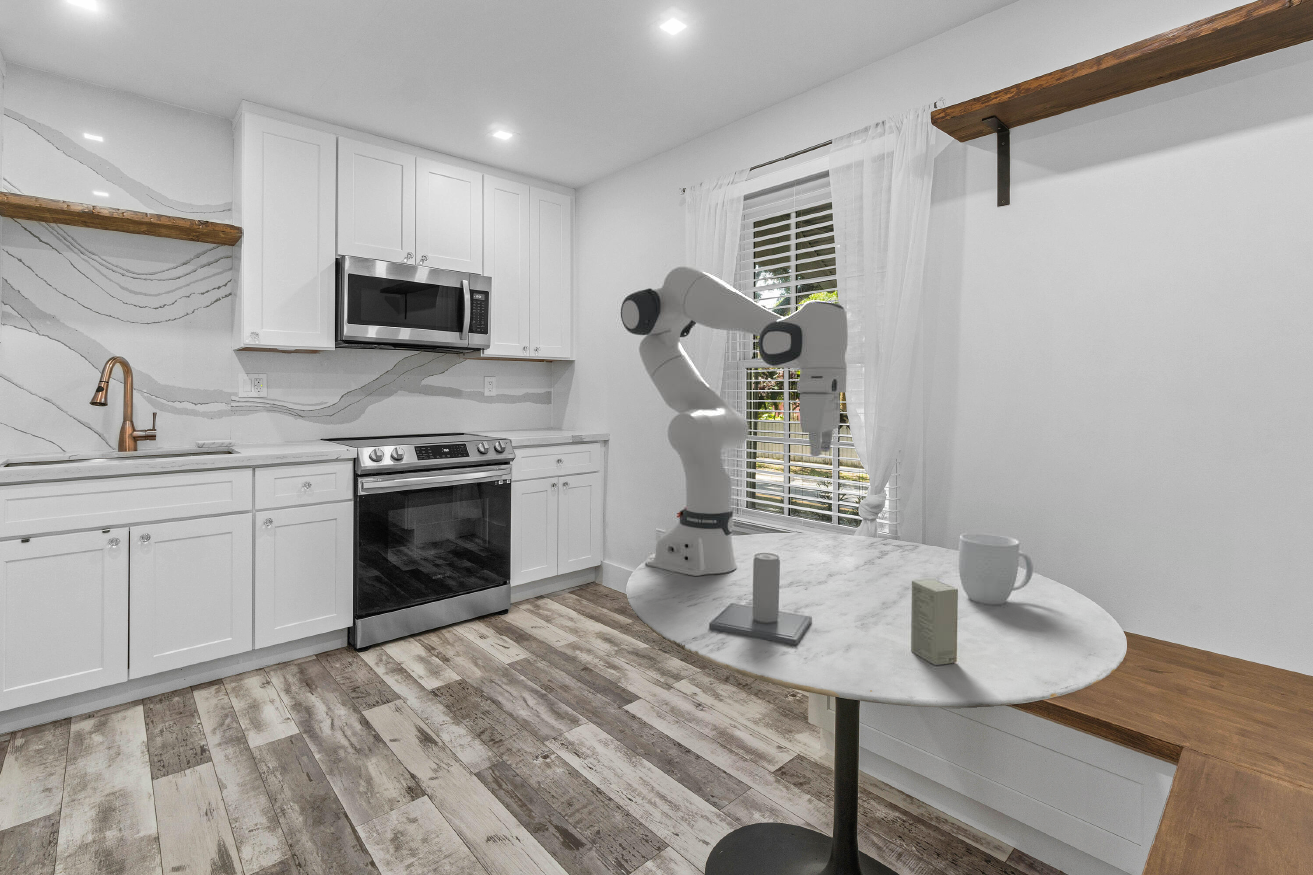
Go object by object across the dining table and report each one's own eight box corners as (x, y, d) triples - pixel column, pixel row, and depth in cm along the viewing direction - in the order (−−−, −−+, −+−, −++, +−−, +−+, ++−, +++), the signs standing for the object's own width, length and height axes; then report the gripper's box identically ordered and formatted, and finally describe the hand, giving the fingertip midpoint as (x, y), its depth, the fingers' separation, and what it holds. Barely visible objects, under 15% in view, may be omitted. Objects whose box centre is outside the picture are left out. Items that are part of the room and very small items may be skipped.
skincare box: (957, 663, 98) (960, 589, 97) (933, 666, 97) (937, 591, 96) (930, 647, 104) (933, 577, 103) (908, 650, 103) (910, 579, 102)
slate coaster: (709, 628, 111) (709, 622, 111) (731, 607, 122) (731, 602, 122) (796, 645, 104) (796, 639, 104) (811, 621, 115) (811, 616, 115)
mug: (1013, 591, 134) (1016, 532, 133) (1047, 609, 123) (1050, 545, 122) (946, 591, 133) (949, 532, 132) (974, 609, 123) (977, 545, 122)
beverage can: (763, 626, 110) (764, 561, 109) (746, 617, 114) (748, 554, 113) (783, 621, 112) (785, 557, 111) (766, 613, 116) (768, 551, 115)
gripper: (817, 384, 131) (815, 448, 132) (794, 382, 113) (792, 457, 114) (848, 384, 128) (845, 450, 129) (829, 383, 110) (827, 459, 111)
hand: (820, 453), depth 121 cm, fingers open, 8 cm apart
